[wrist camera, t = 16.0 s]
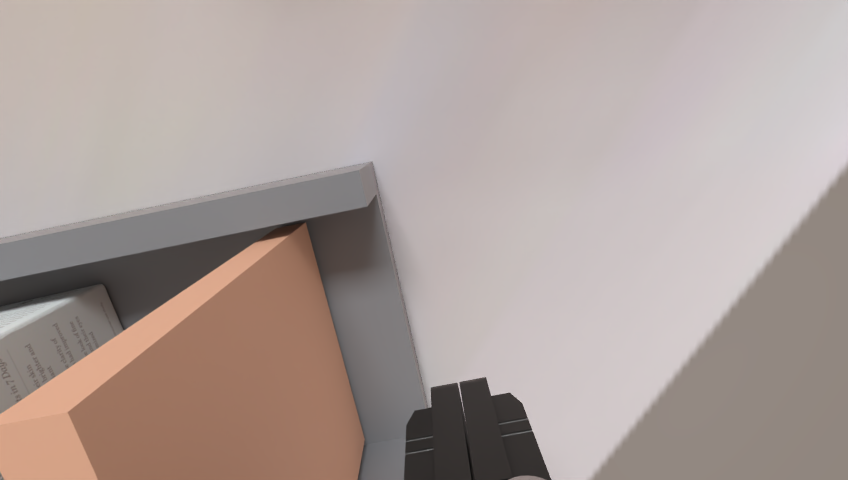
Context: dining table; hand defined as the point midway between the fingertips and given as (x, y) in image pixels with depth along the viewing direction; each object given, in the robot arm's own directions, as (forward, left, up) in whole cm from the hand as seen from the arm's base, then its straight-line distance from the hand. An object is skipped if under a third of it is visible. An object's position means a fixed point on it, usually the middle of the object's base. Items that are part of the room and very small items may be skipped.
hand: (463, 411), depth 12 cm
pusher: (-5, 0, -7) cm, 8 cm away
